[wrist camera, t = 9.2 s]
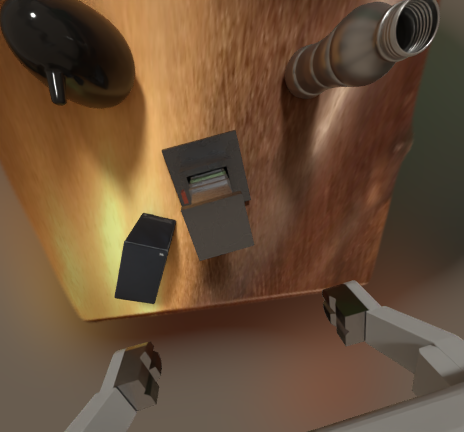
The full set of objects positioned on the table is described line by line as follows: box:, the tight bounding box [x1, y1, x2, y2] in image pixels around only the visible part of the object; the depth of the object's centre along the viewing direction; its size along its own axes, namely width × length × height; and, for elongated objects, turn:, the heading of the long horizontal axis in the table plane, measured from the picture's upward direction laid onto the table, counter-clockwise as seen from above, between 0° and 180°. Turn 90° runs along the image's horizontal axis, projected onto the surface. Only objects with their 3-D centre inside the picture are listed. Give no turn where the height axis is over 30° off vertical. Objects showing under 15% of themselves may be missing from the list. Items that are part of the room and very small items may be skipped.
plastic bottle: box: [285, 0, 440, 99], centre depth 25 cm, size 6×7×20 cm
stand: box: [162, 130, 251, 207], centre depth 34 cm, size 12×12×10 cm
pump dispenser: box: [0, 0, 135, 109], centre depth 24 cm, size 10×10×15 cm
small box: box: [115, 213, 176, 304], centre depth 37 cm, size 11×6×10 cm, turn 162°
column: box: [181, 168, 254, 261], centre depth 26 cm, size 5×5×15 cm
